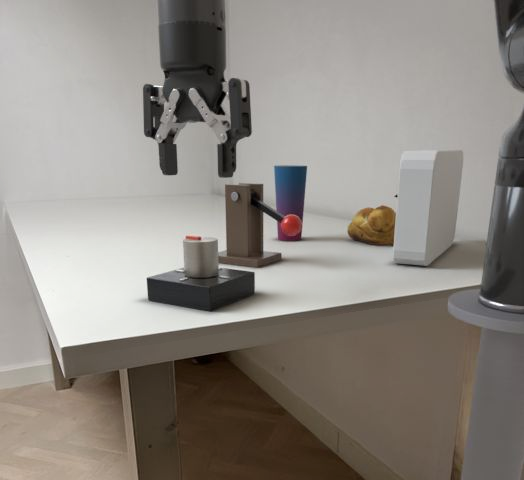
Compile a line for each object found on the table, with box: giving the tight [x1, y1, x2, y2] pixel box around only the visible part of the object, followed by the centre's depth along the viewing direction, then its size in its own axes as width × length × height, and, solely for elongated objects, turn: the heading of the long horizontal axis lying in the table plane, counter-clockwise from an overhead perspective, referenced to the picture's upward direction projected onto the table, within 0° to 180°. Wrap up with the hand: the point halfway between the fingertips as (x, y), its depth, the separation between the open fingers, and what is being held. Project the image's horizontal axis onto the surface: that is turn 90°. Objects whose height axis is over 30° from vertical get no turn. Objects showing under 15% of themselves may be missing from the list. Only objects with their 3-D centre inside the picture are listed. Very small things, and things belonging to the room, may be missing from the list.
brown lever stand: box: [218, 182, 283, 268], centre depth 94 cm, size 10×8×13 cm
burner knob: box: [182, 234, 220, 278], centre depth 71 cm, size 4×4×5 cm
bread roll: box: [346, 204, 396, 246], centre depth 114 cm, size 13×10×8 cm
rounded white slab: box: [392, 149, 464, 267], centre depth 100 cm, size 29×8×18 cm, turn 153°
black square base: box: [146, 267, 256, 312], centre depth 72 cm, size 10×10×3 cm
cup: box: [273, 164, 308, 242], centre depth 116 cm, size 7×7×15 cm
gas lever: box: [251, 189, 303, 236], centre depth 91 cm, size 13×3×3 cm, turn 58°
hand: (197, 176), depth 67 cm, fingers open, 8 cm apart
